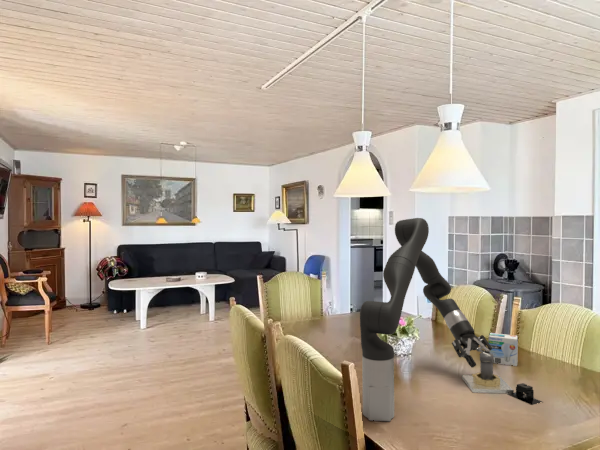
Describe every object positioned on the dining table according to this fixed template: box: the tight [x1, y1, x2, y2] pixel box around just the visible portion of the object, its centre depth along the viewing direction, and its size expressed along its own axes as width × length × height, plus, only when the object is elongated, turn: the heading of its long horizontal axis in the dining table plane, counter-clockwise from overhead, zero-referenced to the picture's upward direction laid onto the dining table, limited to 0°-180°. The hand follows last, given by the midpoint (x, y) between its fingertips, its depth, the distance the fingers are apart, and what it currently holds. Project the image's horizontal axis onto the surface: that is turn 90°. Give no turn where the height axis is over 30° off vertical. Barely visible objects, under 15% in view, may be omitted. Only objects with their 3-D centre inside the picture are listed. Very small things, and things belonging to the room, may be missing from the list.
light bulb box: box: [488, 332, 519, 367], centre depth 174 cm, size 11×7×11 cm, turn 62°
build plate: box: [506, 383, 543, 406], centre depth 138 cm, size 12×7×5 cm, turn 23°
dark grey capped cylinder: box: [479, 352, 494, 380], centre depth 149 cm, size 4×4×10 cm
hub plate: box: [461, 372, 515, 394], centre depth 148 cm, size 13×13×4 cm
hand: (483, 364), depth 150 cm, fingers open, 8 cm apart
